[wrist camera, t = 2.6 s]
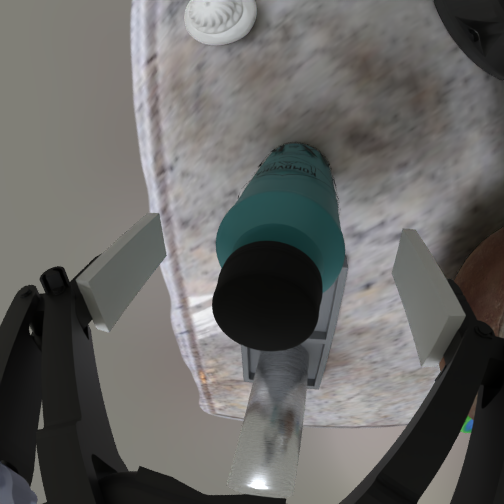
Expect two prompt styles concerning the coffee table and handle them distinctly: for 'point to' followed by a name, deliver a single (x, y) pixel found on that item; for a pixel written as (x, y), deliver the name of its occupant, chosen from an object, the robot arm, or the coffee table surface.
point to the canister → (272, 426)
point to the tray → (316, 342)
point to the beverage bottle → (279, 251)
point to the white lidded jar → (219, 20)
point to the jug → (484, 286)
